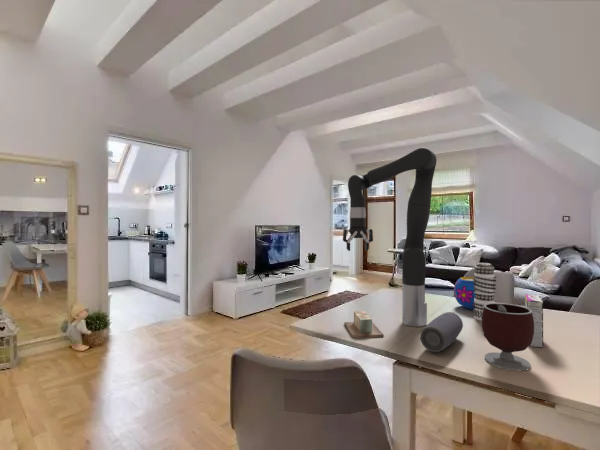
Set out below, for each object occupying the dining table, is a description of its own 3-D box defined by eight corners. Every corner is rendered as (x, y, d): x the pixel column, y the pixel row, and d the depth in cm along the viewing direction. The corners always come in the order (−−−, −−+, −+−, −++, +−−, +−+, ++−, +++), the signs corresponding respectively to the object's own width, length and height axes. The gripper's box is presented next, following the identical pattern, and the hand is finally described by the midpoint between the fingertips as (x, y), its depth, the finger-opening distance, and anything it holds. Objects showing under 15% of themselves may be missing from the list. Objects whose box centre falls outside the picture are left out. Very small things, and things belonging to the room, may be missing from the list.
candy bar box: (524, 336, 126) (524, 293, 126) (540, 338, 123) (541, 295, 123) (526, 345, 116) (526, 299, 116) (543, 348, 114) (544, 301, 113)
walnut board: (371, 323, 142) (371, 321, 141) (383, 337, 126) (383, 334, 126) (344, 324, 141) (344, 322, 141) (352, 337, 125) (352, 335, 125)
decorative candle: (499, 322, 143) (499, 265, 143) (476, 320, 145) (476, 264, 145) (491, 316, 152) (491, 262, 152) (470, 315, 154) (470, 262, 154)
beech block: (364, 311, 140) (372, 319, 128) (364, 322, 140) (372, 332, 128) (353, 311, 140) (360, 319, 128) (353, 323, 140) (360, 332, 128)
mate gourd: (489, 349, 113) (490, 292, 113) (538, 362, 103) (539, 299, 102) (473, 363, 102) (473, 299, 102) (526, 379, 92) (526, 308, 92)
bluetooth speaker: (438, 333, 129) (438, 308, 129) (464, 339, 123) (464, 312, 123) (418, 352, 111) (418, 322, 111) (447, 359, 105) (447, 328, 105)
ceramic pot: (492, 315, 154) (492, 283, 154) (451, 309, 163) (451, 279, 163) (493, 306, 169) (493, 277, 168) (455, 302, 178) (455, 274, 178)
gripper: (344, 217, 153) (344, 251, 154) (374, 216, 154) (374, 251, 155) (341, 217, 161) (341, 250, 161) (370, 217, 162) (370, 249, 162)
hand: (357, 250), depth 158 cm, fingers open, 8 cm apart
